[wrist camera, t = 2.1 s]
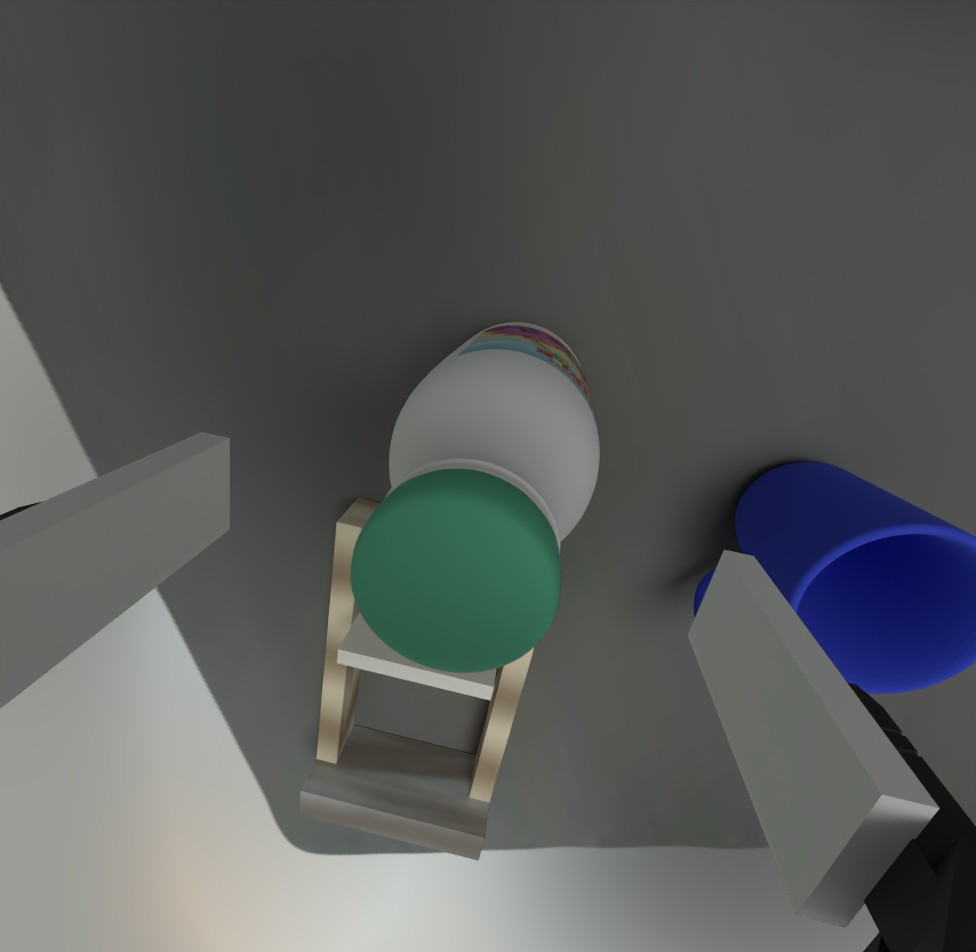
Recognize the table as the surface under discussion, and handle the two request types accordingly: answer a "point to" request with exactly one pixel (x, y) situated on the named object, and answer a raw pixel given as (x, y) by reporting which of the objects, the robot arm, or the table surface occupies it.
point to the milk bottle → (479, 502)
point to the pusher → (406, 664)
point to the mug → (863, 574)
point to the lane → (399, 745)
